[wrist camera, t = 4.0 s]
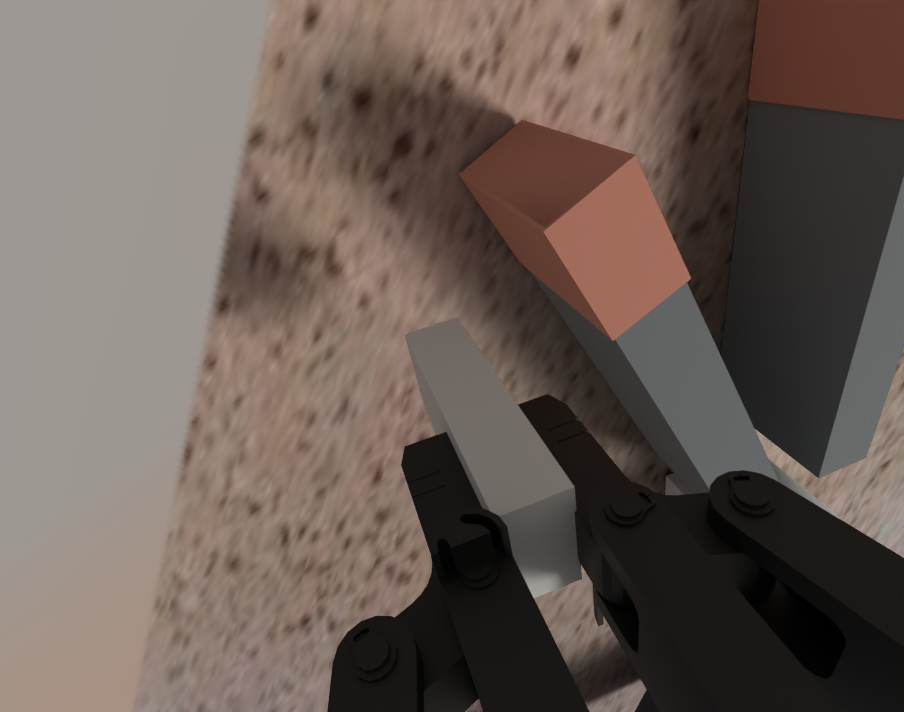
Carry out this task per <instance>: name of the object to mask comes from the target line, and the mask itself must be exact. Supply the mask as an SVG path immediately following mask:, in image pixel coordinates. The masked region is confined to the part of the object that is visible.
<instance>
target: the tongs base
mask: <svg viewBox="0 0 904 712" xmlns="http://www.w3.org/2000/svg"><path fill="white" fill-rule="evenodd" d="M748 100H750V103H749V112H748V121H747V129H746V138H745V147H744V156H743V164H742V173H741V182H740V191H739V199H738V208H737V217H736V226H735V234H734V243H733V252H732V261H731V270H730V278H729V287H728V296H727V305H726V313H725V322H724V331H723V340H722V348H721V357H722V360H723V362H724V364H725V366H726V368H727V370H728V373H729V375H730V377H731V379H732V381H733V383H734V386H735V388H736V390H737V392H738V394H739V396H740V399H741V401H742V403H743V405H744V407H745V409H746V412H747V414H748V416H749V418H750V420H751V422H752V425H753V427H754V428H755V429H756V430H757V431H759V432H760V433H761V434H763V435H764V436H765V437H766V438H768V439H769V440H770V441H772V442H773V443H774V444H775V445H777V446H778V447H779V448H781V449H782V450H783V451H784V452H786V453H787V454H788V455H790V456H791V457H792V458H793V459H795V460H796V461H797V462H798V463H800V464H801V465H802V466H804V467H805V468H806V469H807V470H809V471H810V472H811V473H813V474H814V475H815V476H816V477H818V478H820V477H823V476H825V475H827V474H829V473H832V472H834V471H836V470H839V469H841V468H843V467H846V466H848V465H850V464H853V463H855V462H857V461H860V460H862V459H864V458H866V456H867V453H868V450H869V447H870V444H871V441H872V438H873V435H874V432H875V430H876V427H877V424H878V421H879V418H880V415H881V412H882V409H883V406H884V403H885V400H886V397H887V394H888V392H889V389H890V386H891V383H892V380H893V377H894V374H895V371H896V368H897V365H898V362H899V359H900V357H901V354H902V351H903V348H904V0H759V2H758V11H757V20H756V29H755V38H754V47H753V56H752V65H751V74H750V83H749V92H748ZM769 462H770V464H771V466H772V468H773V470H774V472H775V475H776V477H777V479H778V481H779V483H781V484H783V485H784V486H786V487H788V488H789V489H791V490H793V491H794V492H796V493H798V494H799V495H801V496H803V497H804V498H806V499H807V500H809V501H811V502H812V503H814V504H816V505H817V506H819V507H821V508H822V509H824V510H826V511H827V512H829V513H830V514H832V515H834V516H835V517H837V518H839V517H838V516H837V515H836V514H835V513H834V512H833V511H831V510H830V509H829V508H828V507H827V506H825V505H824V504H823V503H822V502H820V501H819V500H818V499H817V498H816V497H814V496H813V495H812V494H811V493H809V492H808V491H807V490H806V489H805V488H803V487H802V486H801V485H800V484H798V483H797V482H796V481H795V480H794V479H792V478H791V477H790V476H789V475H787V474H786V473H785V472H784V471H783V470H781V469H780V468H779V467H778V466H776V465H775V464H774V463H773V462H772V461H770V460H769ZM685 494H694V493H693V492H692V491H691V490H690V488H689V487H688V486H687V485H686V484H685V483H684V482H683V481H682V480H681V479H680V478H679V477H678V476H677V475H676V474H675V473H672V474H669V475H667V476H666V487H665V495H685Z"/></svg>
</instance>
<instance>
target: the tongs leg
mask: <svg viewBox="0 0 904 712" xmlns="http://www.w3.org/2000/svg"><path fill="white" fill-rule="evenodd" d="M459 176H460V178H461V179H462V181H463V182H464V184H465V185H466V186H467V188H468V189H469V191H470V192H471V194H472V195H473V196H474V198H475V199H476V201H477V202H478V204H479V205H480V206H481V208H482V209H483V211H484V212H485V214H486V215H487V216H488V218H489V219H490V221H491V222H492V224H493V225H494V226H495V228H496V229H497V231H498V232H499V234H500V235H501V236H502V238H503V239H504V241H505V242H506V244H507V245H508V246H509V248H510V249H511V251H512V252H513V254H514V255H515V256H516V258H517V259H518V261H519V262H520V263H521V264H522V265H523V266H524V267H526V268H527V269H528V270H529V272H530V273H531V275H532V276H533V277H534V279H535V280H536V282H537V283H538V285H539V286H540V287H541V289H542V290H543V292H544V293H545V295H546V296H547V298H548V299H549V300H550V302H551V303H552V305H553V306H554V308H555V309H556V311H557V312H558V313H559V315H560V316H561V318H562V319H563V321H564V322H565V323H566V325H567V326H568V328H569V329H570V331H571V332H572V334H573V335H574V336H575V338H576V339H577V341H578V342H579V344H580V345H581V347H582V348H583V349H584V351H585V352H586V354H587V355H588V357H589V358H590V359H591V361H592V362H593V364H594V365H595V367H596V368H597V370H598V371H599V372H600V374H601V375H602V377H603V378H604V380H605V381H606V383H607V384H608V385H609V387H610V388H611V390H612V391H613V393H614V394H615V396H616V397H617V398H618V400H619V401H620V403H621V404H622V406H623V407H624V408H625V410H626V411H627V413H628V414H629V416H630V417H631V419H632V420H633V421H634V423H635V424H636V426H637V427H638V429H639V430H640V432H641V433H642V434H643V436H644V437H645V439H646V440H647V442H648V443H649V444H650V446H651V447H652V449H653V450H654V452H655V453H656V454H657V455H658V456H659V457H660V459H661V460H662V461H663V462H664V463H665V464H666V465H667V466H668V467H669V468H670V469H671V470H672V471H673V472H674V473H675V474H676V475H677V476H678V477H679V478H680V479H681V480H682V481H683V482H684V483H685V484H686V485H687V486H688V487H689V488H690V490H691V491H692V492H693V493H694V494H697V493H708V492H709V490H710V485H711V484H712V483H713V481H714V480H715V479H716V478H717V477H718V476H720V475H722V474H725V473H727V472H729V471H741V470H745V471H751V472H757V473H761V474H763V475H765V476H768V477H770V478H772V479H774V480H776V481H778V479H777V477H776V475H775V472H774V470H773V468H772V466H771V464H770V462H769V459H768V457H767V455H766V453H765V451H764V449H763V446H762V444H761V442H760V440H759V438H758V435H757V433H756V431H755V429H754V427H753V425H752V422H751V420H750V418H749V416H748V414H747V412H746V409H745V407H744V405H743V403H742V401H741V399H740V396H739V394H738V392H737V390H736V388H735V386H734V383H733V381H732V379H731V377H730V375H729V373H728V370H727V368H726V366H725V364H724V362H723V360H722V357H721V355H720V353H719V351H718V349H717V346H716V344H715V342H714V340H713V338H712V336H711V333H710V331H709V329H708V327H707V325H706V323H705V320H704V318H703V316H702V314H701V312H700V310H699V307H698V305H697V303H696V301H695V299H694V297H693V294H692V292H691V290H690V288H689V286H688V284H687V282H688V281H689V280H690V279H691V277H690V275H689V272H688V270H687V268H686V266H685V264H684V261H683V259H682V257H681V255H680V253H679V250H678V248H677V246H676V244H675V241H674V239H673V237H672V235H671V233H670V230H669V228H668V226H667V224H666V221H665V219H664V217H663V215H662V213H661V210H660V208H659V206H658V204H657V202H656V199H655V197H654V195H653V193H652V190H651V188H650V186H649V184H648V182H647V179H646V177H645V175H644V173H643V171H642V168H641V166H640V164H639V162H638V159H637V157H636V155H634V154H631V153H627V152H624V151H621V150H618V149H614V148H611V147H608V146H605V145H602V144H598V143H595V142H592V141H589V140H585V139H582V138H579V137H576V136H573V135H569V134H566V133H563V132H560V131H556V130H553V129H550V128H547V127H544V126H540V125H537V124H534V123H531V122H527V121H524V120H521V121H520V122H519V123H518V124H517V125H515V126H514V127H513V128H512V129H511V130H510V131H508V132H507V133H506V134H505V135H504V136H503V137H502V138H500V139H499V140H498V141H497V142H496V143H495V144H493V145H492V146H491V147H490V148H489V149H488V150H486V151H485V152H484V153H483V154H482V155H481V156H479V157H478V158H477V159H476V160H475V161H474V162H472V163H471V164H470V165H469V166H468V167H467V168H466V169H464V170H463V171H462V172H461V173H460V174H459ZM778 482H779V481H778Z"/></svg>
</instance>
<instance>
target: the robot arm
mask: <svg viewBox="0 0 904 712" xmlns="http://www.w3.org/2000/svg"><path fill="white" fill-rule="evenodd" d="M405 338H406V341H407V345H408V349H409V352H410V356H411V359H412V363H413V367H414V370H415V374H416V377H417V381H418V385H419V388H420V392H421V395H422V399H423V403H424V406H425V410H426V413H427V415H428V417H429V419H430V422H431V424H432V426H433V428H434V431H435V433H436V436H433V437H430V438H427V439H425V440H422V441H419V442H416V443H413V444H411V445H408V446H405V449H404V454H403V459H402V464H401V466H402V469H403V472H404V475H405V478H406V481H407V484H408V487H409V490H410V493H411V496H412V499H413V502H414V505H415V508H416V511H417V514H418V517H419V520H420V523H421V526H422V529H423V532H424V535H425V538H426V541H427V544H428V547H429V550H430V553H431V558H432V573H431V577H430V579H429V582H428V585H427V586H426V588H425V589H424V591H423V592H422V594H421V595H420V596H419V597H418V598H417V599H416V600H415V601H414V602H413V603H412V604H411V605H410V606H409V607H407V608H406V609H405V610H404V611H402V612H401V613H400V614H399V615H397V616H396V617H395V618H394V617H392V616H375V617H372V618H369V619H366V620H364V621H361V622H360V623H359V624H357V625H356V626H355V627H354V628H352V629H351V630H350V631H349V632H347V634H346V635H345V637H344V638H343V640H342V641H341V643H340V644H339V646H338V648H337V651H336V654H335V658H334V661H333V666H332V675H331V684H330V693H329V703H328V712H465V711H466V710H467V709H468V708H469V707H470V706H471V705H472V704H473V703H474V702H475V701H476V700H477V699H478V698H479V700H480V703H481V706H482V709H483V712H589V710H588V708H587V706H586V704H585V702H584V700H583V698H582V696H581V694H580V692H579V690H578V688H577V686H576V684H575V682H574V680H573V677H572V675H571V673H570V671H569V669H568V667H567V665H566V663H565V661H564V659H563V657H562V655H561V653H560V651H559V649H558V647H557V645H556V643H555V641H554V639H553V637H552V635H551V633H550V631H549V628H548V626H547V624H546V622H545V620H544V618H543V616H542V614H541V612H540V610H539V608H538V606H537V604H536V602H535V600H534V598H537V597H539V596H541V595H544V594H546V593H549V592H551V591H553V590H556V589H558V588H561V587H563V586H565V585H568V584H570V583H573V582H575V581H577V580H580V579H582V575H581V565H582V566H583V568H584V570H585V571H586V573H587V575H588V576H589V578H590V580H591V581H592V583H593V599H594V615H595V618H596V621H597V624H598V626H600V625H602V624H603V616H604V617H605V619H606V621H607V622H608V624H609V626H610V628H611V629H612V631H613V633H614V634H615V636H616V638H617V640H618V641H619V643H620V645H621V646H622V648H623V650H624V651H625V653H626V655H627V657H628V658H629V660H630V662H631V663H632V665H633V667H634V669H635V670H636V672H637V674H638V675H639V677H640V679H641V680H642V682H643V684H644V686H645V687H646V689H647V691H648V692H649V694H650V696H651V697H652V699H653V701H654V703H655V704H656V706H657V708H658V709H659V711H660V712H904V558H903V557H901V556H900V555H898V554H896V553H895V552H893V551H891V550H890V549H888V548H886V547H885V546H883V545H881V544H880V543H878V542H877V541H875V540H873V539H872V538H870V537H868V536H867V535H865V534H863V533H862V532H860V531H858V530H857V529H855V528H854V527H852V526H850V525H849V524H847V523H845V522H844V521H842V520H840V519H839V518H837V517H835V516H834V515H832V514H830V513H829V512H827V511H826V510H824V509H822V508H821V507H819V506H817V505H816V504H814V503H812V502H811V501H809V500H807V499H806V498H804V497H803V496H801V495H799V494H798V493H796V492H794V491H793V490H791V489H789V488H788V487H786V486H784V485H783V484H781V483H779V482H778V481H776V480H774V479H772V478H770V477H768V476H765V475H763V474H761V473H757V472H751V471H745V470H741V471H729V472H727V473H725V474H722V475H720V476H718V477H717V478H716V479H715V480H714V481H713V483H712V484H711V485H710V490H709V492H708V493H697V494H685V495H661V494H656V493H653V492H652V491H651V490H650V489H649V488H647V487H644V486H641V485H639V484H636V483H632V482H631V481H630V480H629V479H628V478H627V477H626V476H625V475H624V474H623V473H622V472H621V470H620V469H619V468H618V467H617V466H616V464H615V463H614V462H613V461H612V459H611V458H610V457H609V456H608V455H607V453H606V452H605V451H604V450H603V449H602V447H601V446H600V445H599V444H598V442H597V441H596V440H595V439H594V438H593V436H592V435H591V434H590V433H588V430H587V429H586V428H585V427H584V425H583V424H582V423H581V422H579V421H578V418H577V417H576V416H575V414H574V413H573V412H572V411H571V410H570V408H569V407H568V406H567V405H566V404H565V403H563V402H561V401H559V400H557V399H556V398H554V397H552V396H550V395H548V394H547V395H544V396H541V397H538V398H535V399H533V400H530V401H527V402H524V403H521V404H519V405H518V404H517V403H516V402H515V400H514V399H513V397H512V396H511V394H510V393H509V391H508V390H507V389H506V387H505V386H504V384H503V383H502V381H501V380H500V378H499V377H498V376H497V374H496V373H495V371H494V370H493V368H492V367H491V365H490V364H489V363H488V361H487V360H486V358H485V357H484V355H483V354H482V352H481V351H480V350H479V348H478V347H477V345H476V344H475V342H474V341H473V339H472V338H471V337H470V335H469V334H468V332H467V331H466V329H465V328H464V326H463V325H462V324H461V322H460V321H459V319H458V318H454V319H451V320H448V321H445V322H442V323H439V324H436V325H433V326H430V327H426V328H423V329H420V330H417V331H414V332H411V333H408V334H405Z"/></svg>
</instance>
